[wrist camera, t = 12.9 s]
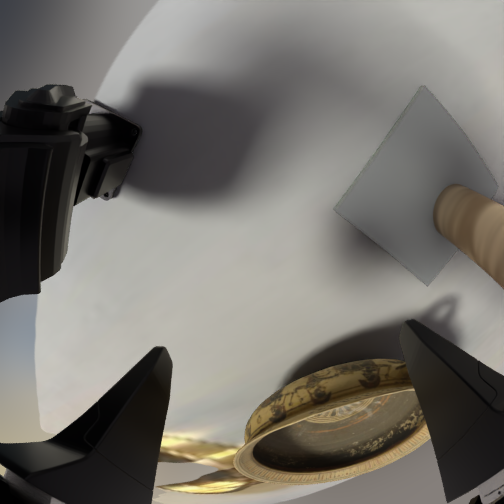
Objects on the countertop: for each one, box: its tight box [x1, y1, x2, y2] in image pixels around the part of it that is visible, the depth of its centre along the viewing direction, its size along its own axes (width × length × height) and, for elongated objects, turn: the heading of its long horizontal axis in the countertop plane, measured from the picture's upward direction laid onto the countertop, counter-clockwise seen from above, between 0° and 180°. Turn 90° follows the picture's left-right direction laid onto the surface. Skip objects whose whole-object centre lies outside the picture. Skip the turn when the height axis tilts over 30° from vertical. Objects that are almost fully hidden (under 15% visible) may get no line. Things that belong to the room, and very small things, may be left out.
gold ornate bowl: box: [233, 359, 431, 485], centre depth 26 cm, size 30×24×10 cm
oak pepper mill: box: [433, 184, 504, 289], centre depth 14 cm, size 5×5×12 cm
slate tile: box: [333, 86, 498, 287], centre depth 19 cm, size 13×13×1 cm
